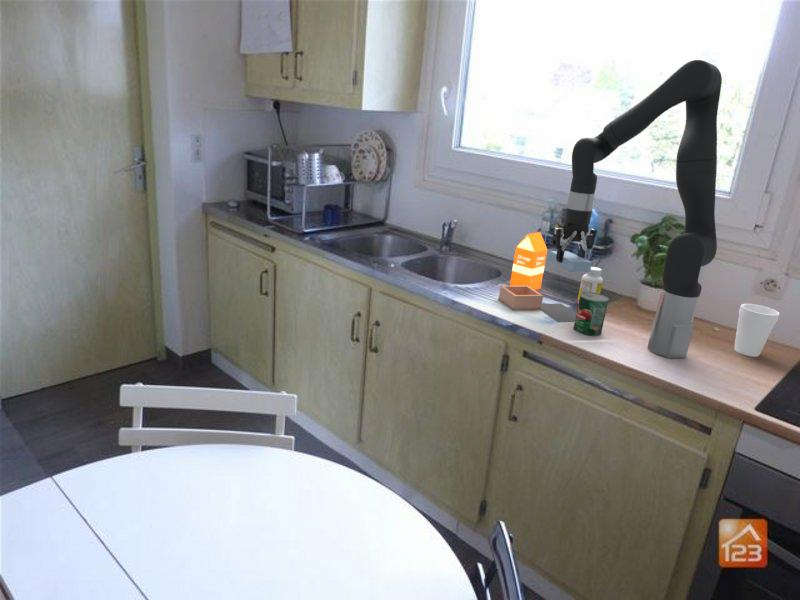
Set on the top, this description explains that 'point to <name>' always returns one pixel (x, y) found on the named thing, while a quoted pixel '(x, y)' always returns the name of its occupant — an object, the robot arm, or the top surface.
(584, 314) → the canned tomato
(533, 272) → the orange juice
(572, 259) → the blue-grey rectangular block
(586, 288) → the supplement bottle
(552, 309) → the mat
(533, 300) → the brown open box
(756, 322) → the foam cup
